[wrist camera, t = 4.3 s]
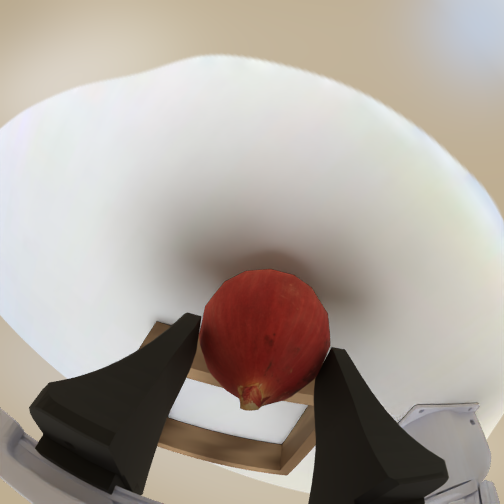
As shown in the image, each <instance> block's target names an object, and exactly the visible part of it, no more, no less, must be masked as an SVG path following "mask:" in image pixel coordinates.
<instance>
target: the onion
mask: <svg viewBox="0 0 504 504" xmlns="http://www.w3.org/2000/svg"><path fill="white" fill-rule="evenodd" d="M199 340H200V347H201V350H202V353H203V356H204V359H205V362H206V365H207V368H208V370H209V371H210V373H211V375H212V376H213V377H214V378H215V379H216V380H217V381H218V382H219V384H220V385H221V386H222V387H223V388H224V389H225V390H226V391H228V392H230V393H231V394H233V395H234V396H236V397H238V398H239V399H240V408H241V409H243V410H258V409H259V408H260V407H262V406H264V405H268V404H271V403H275V402H279V401H282V400H286V399H288V398H290V397H292V396H293V395H294V394H296V393H297V392H298V391H300V390H301V389H302V388H304V387H305V386H306V385H308V384H309V383H310V382H312V381H313V380H314V379H315V377H316V376H317V375H318V373H319V371H320V368H321V366H322V364H323V362H324V359H325V357H326V355H327V352H328V350H329V347H330V331H329V321H328V313H327V312H326V310H325V308H324V307H323V305H322V304H321V302H320V300H319V299H318V297H317V296H316V294H315V292H314V291H313V289H312V287H310V286H309V285H307V284H306V283H304V282H303V281H302V280H300V279H299V278H297V277H296V276H295V275H292V274H288V273H284V272H280V271H276V270H273V269H265V270H251V271H245V272H243V273H241V274H239V275H237V276H235V277H233V278H231V279H229V280H227V281H225V282H224V283H223V284H222V286H221V287H220V288H219V289H218V290H217V292H216V293H215V294H214V295H213V297H212V298H211V299H210V301H209V302H208V303H207V305H206V306H205V310H204V315H203V320H202V325H201V329H200V333H199Z"/></svg>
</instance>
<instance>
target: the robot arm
mask: <svg viewBox="0 0 504 504" xmlns="http://www.w3.org/2000/svg"><path fill="white" fill-rule="evenodd" d="M200 323H201V316H198V315H194V314H191V313H185V314H184V315H183V316H182V317H181V318H180V319H178V320H177V321H176V322H175V323H174V324H173V325H172V326H170V327H169V328H168V329H167V330H165V331H164V332H163V333H162V334H160V335H159V336H158V337H156V338H155V339H154V340H152V341H151V342H149V343H148V344H146V345H145V346H143V347H142V348H140V349H139V350H137V351H136V352H134V353H132V354H131V355H129V356H127V357H125V358H123V359H121V360H119V361H117V362H115V363H113V364H111V365H109V366H107V367H104V368H102V369H99V370H97V371H94V372H91V373H88V374H85V375H82V376H78V377H75V378H71V379H66V380H61V381H56V382H50V383H48V385H47V386H46V387H45V388H44V389H43V390H42V391H41V392H40V394H39V395H38V396H37V398H36V399H35V400H34V402H33V403H32V404H31V406H30V407H29V409H30V413H31V415H32V418H33V419H34V421H35V422H36V424H37V425H38V427H39V428H40V430H41V431H42V432H43V436H42V438H41V439H40V440H39V442H37V441H36V440H35V439H33V438H32V437H30V436H29V435H28V434H26V433H25V432H24V430H23V429H22V427H21V426H20V425H19V423H18V422H17V421H16V420H14V419H13V418H12V417H11V416H10V415H8V414H7V413H6V412H5V411H4V410H2V409H1V408H0V478H1V479H2V480H4V481H5V482H6V483H7V484H8V485H9V486H10V487H12V488H13V489H14V490H15V491H17V492H18V493H19V494H20V495H22V496H23V497H24V498H26V499H27V500H28V501H29V502H31V503H32V504H163V503H160V502H157V501H154V500H151V499H149V498H146V497H143V496H140V495H142V494H143V490H144V487H145V483H146V480H147V476H148V473H149V469H150V466H151V463H152V460H153V457H154V453H155V451H156V448H157V445H158V442H159V439H160V436H161V433H162V430H163V427H164V424H165V422H166V419H167V417H168V414H169V412H170V410H171V408H172V406H173V404H174V402H175V400H176V398H177V396H178V394H179V392H180V390H181V388H182V386H183V384H184V381H185V379H186V377H187V375H188V373H189V371H190V368H191V366H192V363H193V360H194V357H195V354H196V351H197V344H198V337H199V330H200ZM478 408H479V404H478V403H472V404H452V405H416V406H414V407H413V408H412V409H411V410H410V411H409V412H408V414H407V415H406V416H405V417H404V418H403V419H402V420H401V421H400V422H399V423H397V422H396V421H395V420H394V419H393V418H392V417H391V416H390V415H389V413H388V412H387V411H386V410H385V409H384V407H383V406H382V405H381V404H380V402H379V401H378V400H377V398H376V397H375V396H374V394H373V393H372V391H371V390H370V388H369V387H368V385H367V384H366V382H365V381H364V379H363V378H362V376H361V375H360V373H359V371H358V370H357V368H356V367H355V365H354V363H353V362H352V360H351V358H350V357H349V355H348V354H347V352H346V350H345V349H339V348H334V347H332V348H331V350H330V352H329V353H328V355H327V357H326V359H325V361H324V363H323V365H322V367H321V369H320V371H319V373H318V375H317V376H316V378H315V385H314V418H315V436H316V452H315V463H314V472H313V479H312V486H311V492H310V497H309V503H308V504H500V502H499V499H498V495H497V492H496V489H495V486H494V483H493V482H491V481H487V480H484V478H485V477H486V476H487V474H488V472H489V469H490V464H491V453H490V449H489V446H488V443H487V441H486V438H485V435H484V433H483V430H482V428H481V425H480V423H479V421H478V418H477V416H476V414H475V411H476V410H477V409H478ZM483 480H484V481H483ZM482 481H483V482H482Z"/></svg>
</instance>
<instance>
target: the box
mask: <svg viewBox="0 0 504 504" xmlns="http://www.w3.org/2000/svg"><path fill="white" fill-rule="evenodd" d="M169 327H170V325H166V324H163V323H160V322H157V321H156V323H155V325H154V326H153V328H152V329H151V331H150V332H149V334H148V335H147V337H146V338H145V340H144V342H143V343H142V345H141V346H140V348H142V347H143V346H145V345H146V344H148V343H149V342H151V341H152V340H154V339H155V338H156V337H158V336H159V335H160V334H162V333H163V332H164V331H165V330H167V329H168V328H169ZM140 348H139V349H140ZM322 365H323V364H322ZM321 367H322V366H321ZM320 369H321V368H320ZM186 378H190V379H193V380H196V381H200V382H203V383H207V384H211V385H214V386H218V387H222V386H221V385H220V384H219V382H218V381H217V380H216V379H215V378H214V377H213V376H212V375H211V373H210V371H209V370H208V368H207V365H206V362H205V359H204V356H203V353H202V350H201V347H200V340H199V337H198V344H197V351H196V354H195V357H194V360H193V363H192V366H191V368H190V371H189V373H188V375H187V377H186ZM315 378H316V377H315ZM314 385H315V379H314V380H313V381H312V382H310V383H309V384H308V385H306V386H305V387H304V388H302V389H301V390H300V391H298V392H297V393H296V394H294V395H293V396H292V397H290V398H288V399H286V400H282V401H287V402H293V403H299V404H305V405H308V407H307V408H306V410H305V412H304V413H303V415H302V416H301V418H300V419H299V421H298V422H297V424H296V425H295V427H294V428H293V430H292V431H291V433H290V434H289V435H288V437H287V438H286V440H285V441H284V443H283V444H282V445H280V444H273V443H267V442H261V441H256V440H250V439H245V438H240V437H236V436H231V435H227V434H223V433H219V432H215V431H211V430H207V429H203V428H199V427H196V426H192V425H189V424H186V423H182V422H179V421H176V420H173V419H170V418H168V417H167V419H166V422H165V424H164V427H163V430H162V433H161V436H160V439H159V442H158V445H157V446H158V447H161V448H164V449H167V450H171V451H173V452H177V453H180V454H183V455H187V456H190V457H194V458H197V459H201V460H205V461H209V462H213V463H217V464H221V465H226V466H230V467H235V468H240V469H246V470H251V471H258V472H264V473H271V474H279V475H288V474H289V473H290V472H291V471H292V470H293V469H294V468H295V467H296V466H297V465H298V464H299V463H300V462H301V461H302V459H303V458H304V457H305V456H306V455H307V454H308V453H309V452H310V451H311V450H312V448H313V447H314V446H315V445H316V436H315V418H314ZM222 388H223V387H222Z"/></svg>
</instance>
